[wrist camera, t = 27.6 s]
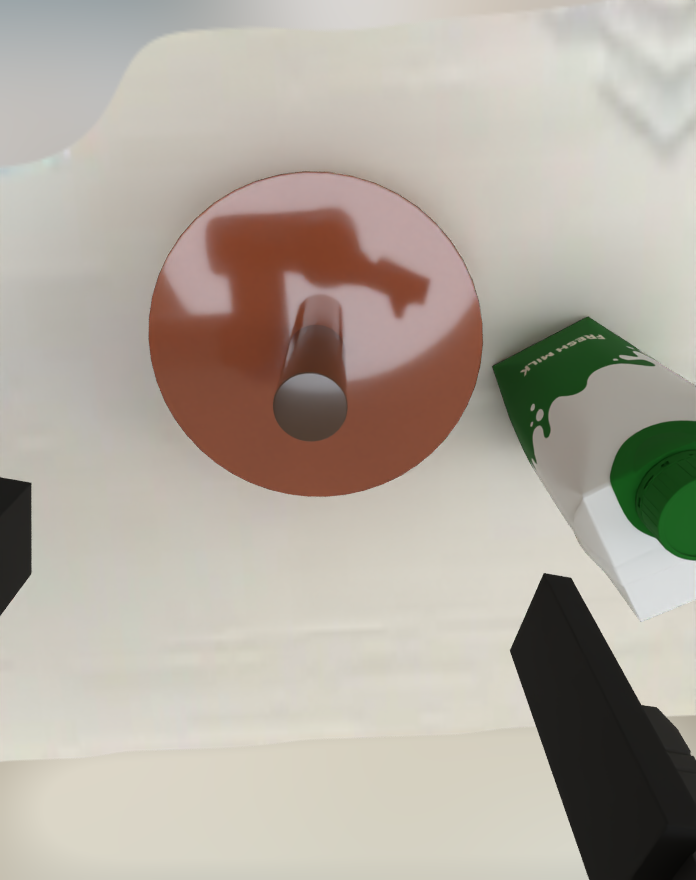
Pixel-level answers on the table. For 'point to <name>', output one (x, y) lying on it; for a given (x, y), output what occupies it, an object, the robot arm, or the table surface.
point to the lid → (315, 333)
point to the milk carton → (613, 456)
